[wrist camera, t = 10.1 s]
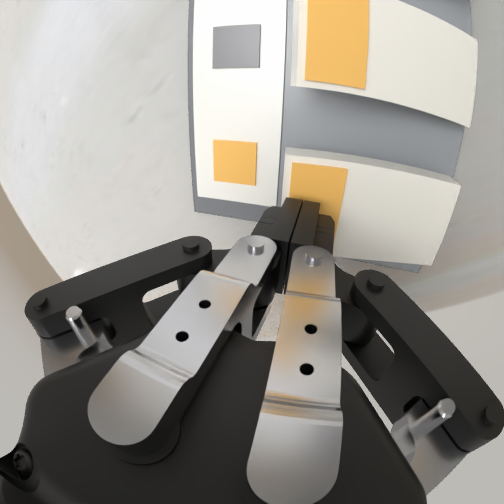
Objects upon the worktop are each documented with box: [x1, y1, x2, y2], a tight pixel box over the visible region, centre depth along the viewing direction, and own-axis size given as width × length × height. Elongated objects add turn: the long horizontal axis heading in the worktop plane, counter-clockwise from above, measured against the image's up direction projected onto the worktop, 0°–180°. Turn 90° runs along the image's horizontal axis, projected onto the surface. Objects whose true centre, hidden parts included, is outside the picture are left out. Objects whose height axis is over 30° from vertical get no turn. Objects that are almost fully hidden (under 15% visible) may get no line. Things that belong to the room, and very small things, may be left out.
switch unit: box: [188, 0, 472, 273], centre depth 12 cm, size 25×17×4 cm
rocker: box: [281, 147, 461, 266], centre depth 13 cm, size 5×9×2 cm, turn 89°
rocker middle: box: [291, 0, 478, 128], centre depth 8 cm, size 5×9×2 cm, turn 89°
